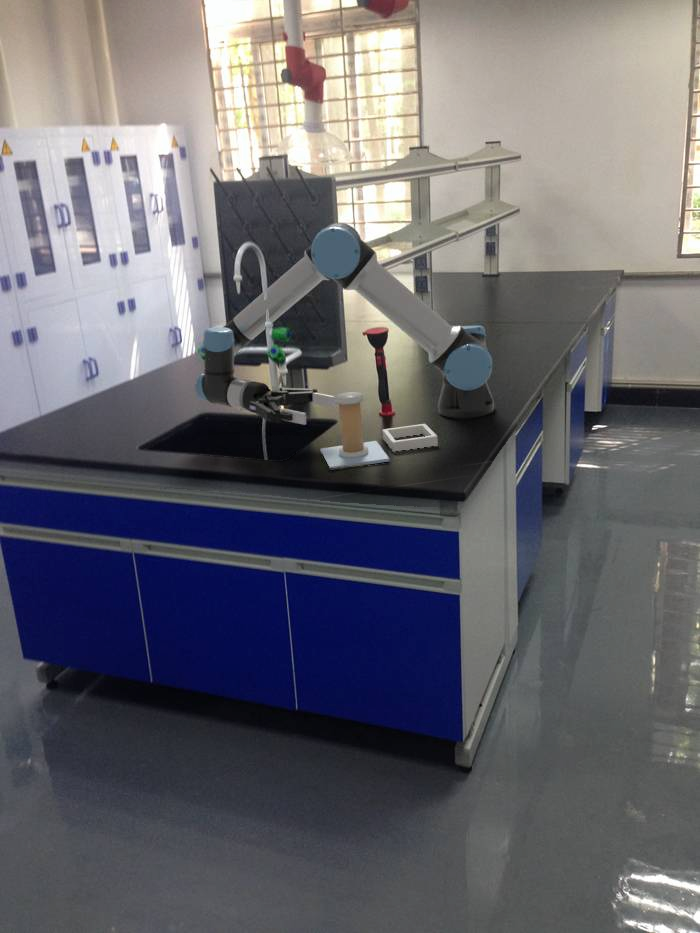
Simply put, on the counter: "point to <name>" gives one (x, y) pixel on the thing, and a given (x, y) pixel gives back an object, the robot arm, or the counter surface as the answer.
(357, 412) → the spool
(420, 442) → the collar
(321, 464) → the counter surface
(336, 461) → the pad
